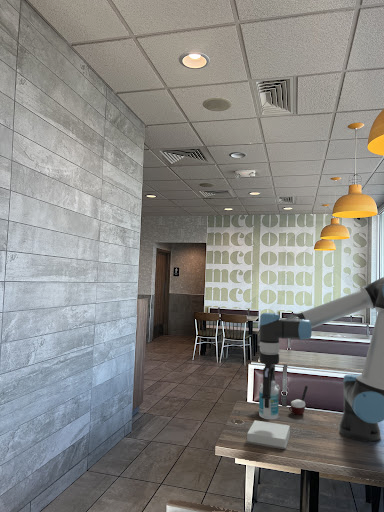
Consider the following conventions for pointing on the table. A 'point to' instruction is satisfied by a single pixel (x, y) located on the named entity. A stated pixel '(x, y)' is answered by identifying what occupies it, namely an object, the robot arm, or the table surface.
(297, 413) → the cocoa
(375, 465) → the table surface
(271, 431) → the block
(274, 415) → the pill bottle
